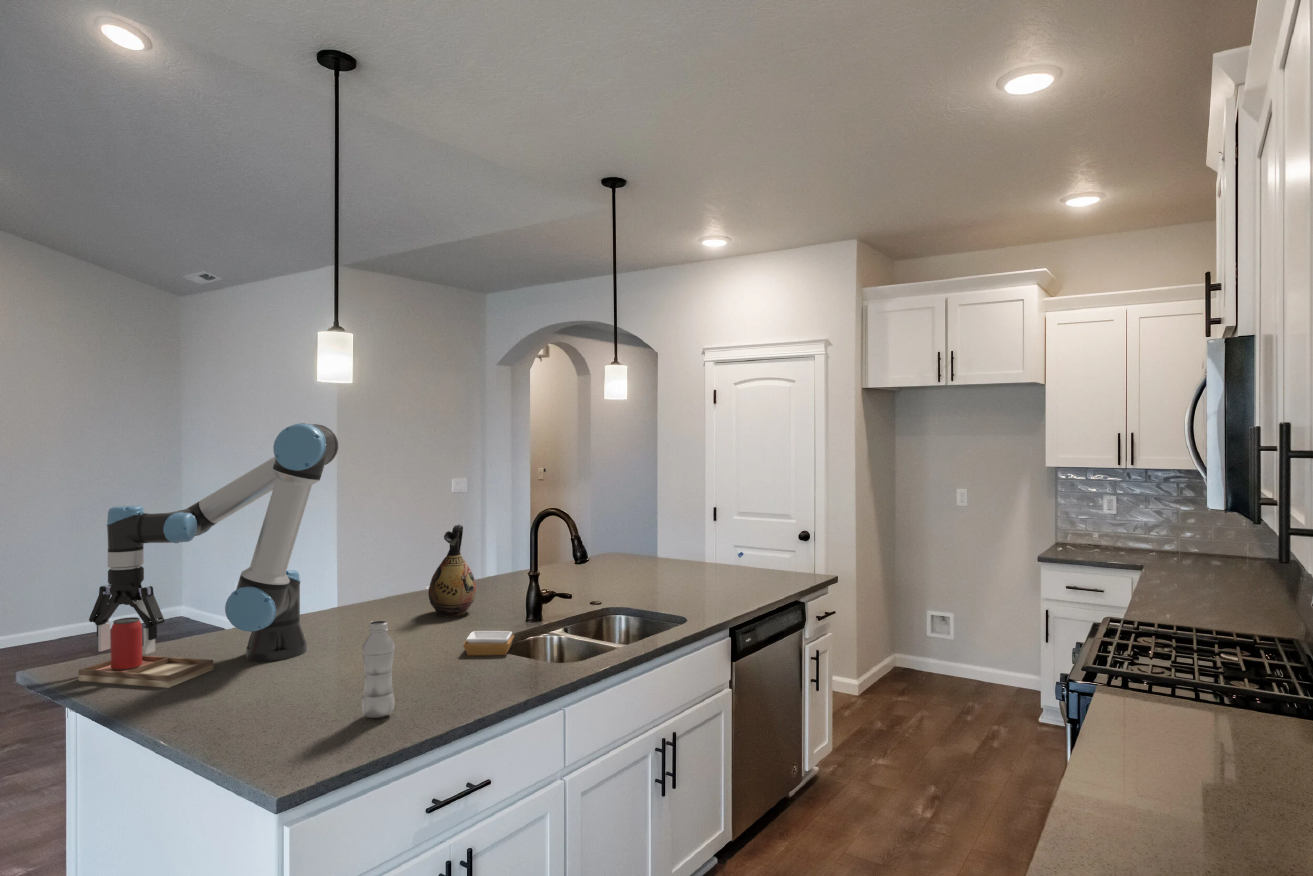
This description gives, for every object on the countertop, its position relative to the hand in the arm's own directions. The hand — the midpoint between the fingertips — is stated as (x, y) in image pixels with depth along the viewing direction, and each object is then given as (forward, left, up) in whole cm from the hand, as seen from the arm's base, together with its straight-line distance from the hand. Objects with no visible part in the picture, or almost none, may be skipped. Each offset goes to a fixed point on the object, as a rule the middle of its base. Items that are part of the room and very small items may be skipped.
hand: (126, 651), depth 195 cm
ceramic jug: (-51, -76, -6) cm, 92 cm away
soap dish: (-82, -36, -6) cm, 90 cm away
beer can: (0, 0, -4) cm, 4 cm away
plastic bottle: (-79, +14, -6) cm, 80 cm away
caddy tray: (-6, 0, -6) cm, 8 cm away
